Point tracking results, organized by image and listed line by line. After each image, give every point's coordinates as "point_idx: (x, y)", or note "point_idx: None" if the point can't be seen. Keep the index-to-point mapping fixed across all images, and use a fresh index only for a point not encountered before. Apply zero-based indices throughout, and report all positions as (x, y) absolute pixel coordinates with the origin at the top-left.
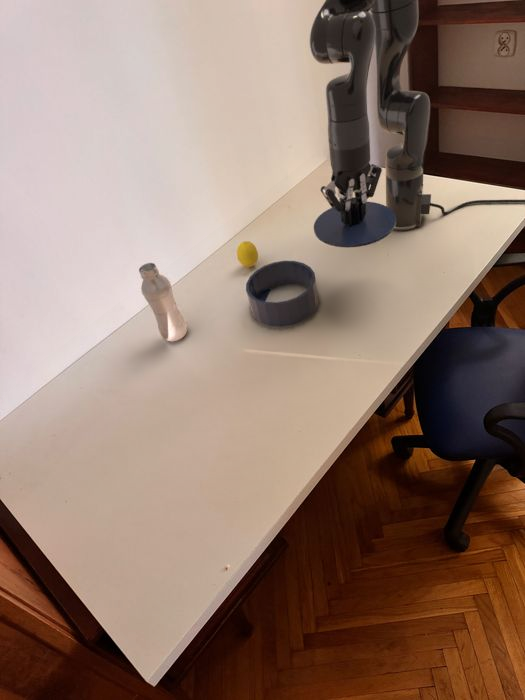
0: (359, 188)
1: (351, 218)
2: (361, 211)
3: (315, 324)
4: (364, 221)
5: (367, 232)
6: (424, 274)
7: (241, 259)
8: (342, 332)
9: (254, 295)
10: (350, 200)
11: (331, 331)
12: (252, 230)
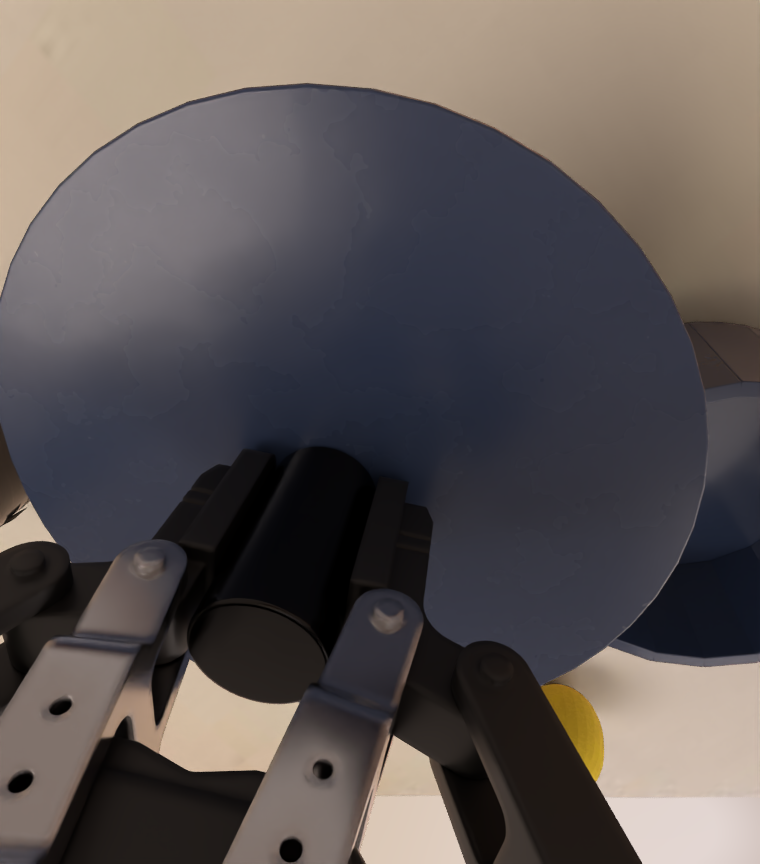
0: (107, 749)
1: (369, 513)
2: (242, 502)
3: (719, 268)
4: (262, 427)
5: (371, 284)
6: (123, 119)
7: (602, 736)
8: (705, 112)
9: (743, 580)
10: (325, 680)
11: (726, 165)
12: (400, 777)
